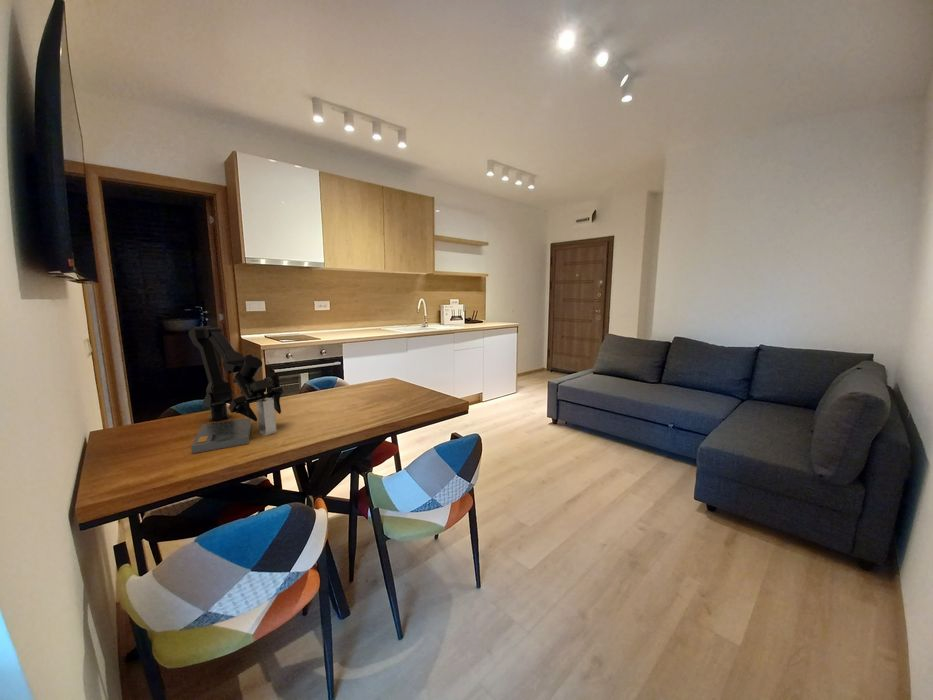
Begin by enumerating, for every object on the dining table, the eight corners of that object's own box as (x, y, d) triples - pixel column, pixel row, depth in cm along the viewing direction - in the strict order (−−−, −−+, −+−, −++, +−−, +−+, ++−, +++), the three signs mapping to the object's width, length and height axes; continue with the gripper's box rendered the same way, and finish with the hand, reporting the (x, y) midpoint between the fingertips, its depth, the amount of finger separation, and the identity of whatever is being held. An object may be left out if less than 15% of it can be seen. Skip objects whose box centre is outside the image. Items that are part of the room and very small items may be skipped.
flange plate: (202, 431, 137) (202, 424, 136) (251, 423, 144) (250, 417, 144) (192, 453, 118) (190, 445, 117) (248, 443, 125) (247, 436, 125)
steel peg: (259, 433, 134) (256, 400, 132) (269, 430, 138) (266, 397, 136) (266, 435, 132) (263, 401, 130) (276, 432, 136) (273, 399, 134)
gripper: (229, 376, 125) (251, 411, 122) (279, 366, 141) (299, 397, 138) (219, 395, 130) (240, 429, 127) (268, 383, 146) (288, 413, 143)
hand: (268, 416), depth 133 cm, fingers open, 9 cm apart
